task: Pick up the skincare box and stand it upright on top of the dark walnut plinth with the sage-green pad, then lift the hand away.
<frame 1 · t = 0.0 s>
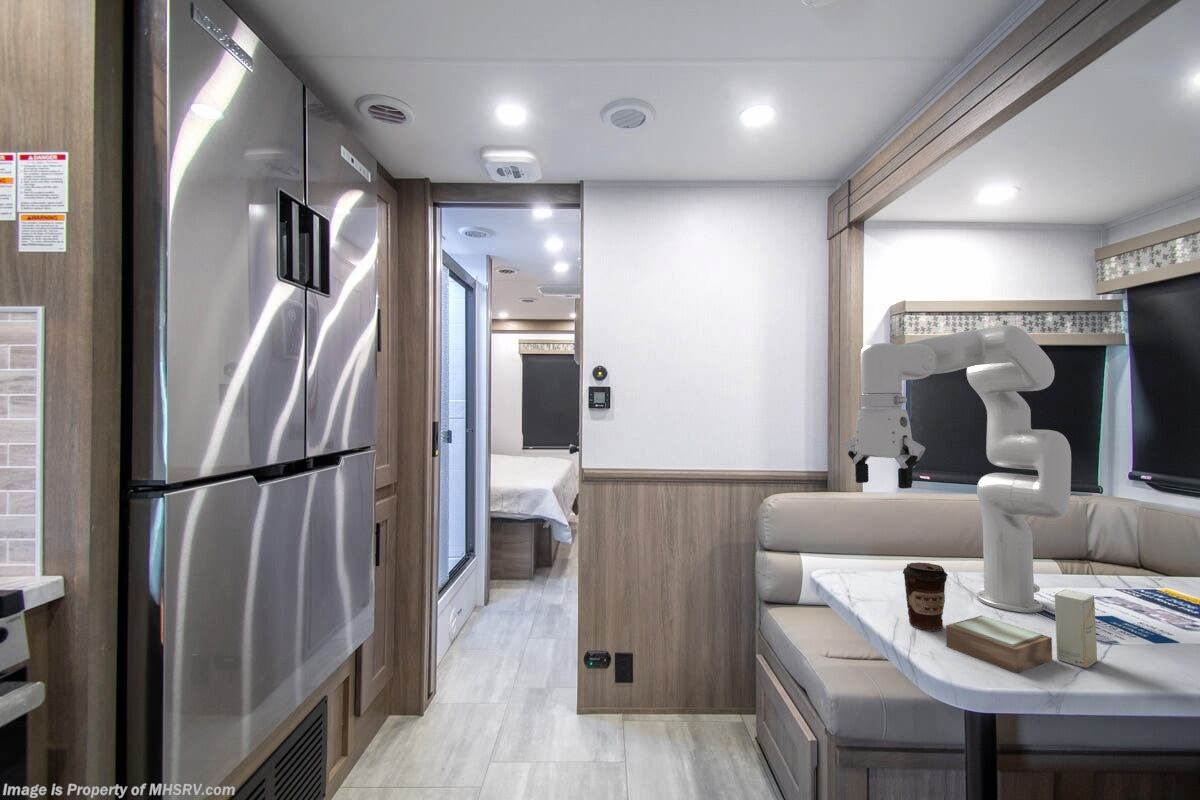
hand: (882, 485, 108), 31 cm above the table, tool pointing down, fingers open, 9 cm apart
coffee cup: (926, 627, 113), on the table
skincare box: (1076, 661, 97), on the table
walnut plinth: (997, 652, 100), on the table
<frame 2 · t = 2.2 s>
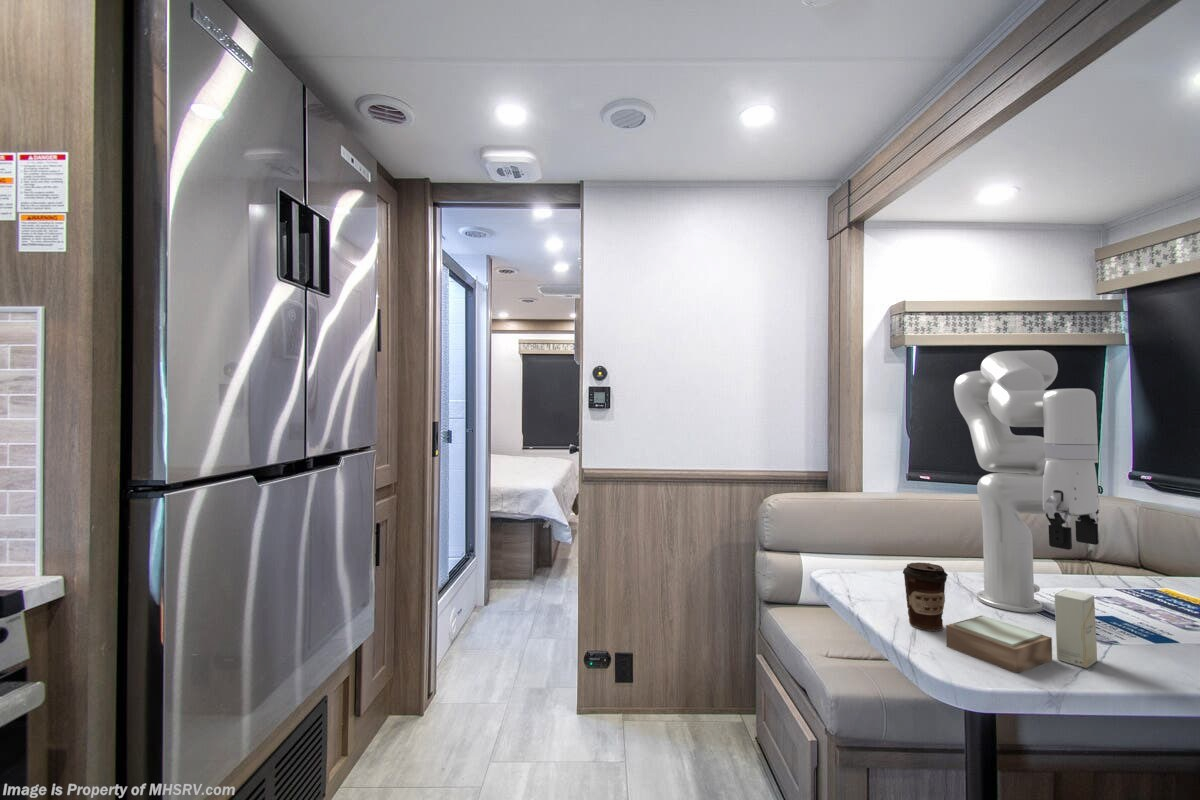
hand: (1074, 545, 97), 21 cm above the table, tool pointing down, fingers open, 9 cm apart
nothing on the table moved.
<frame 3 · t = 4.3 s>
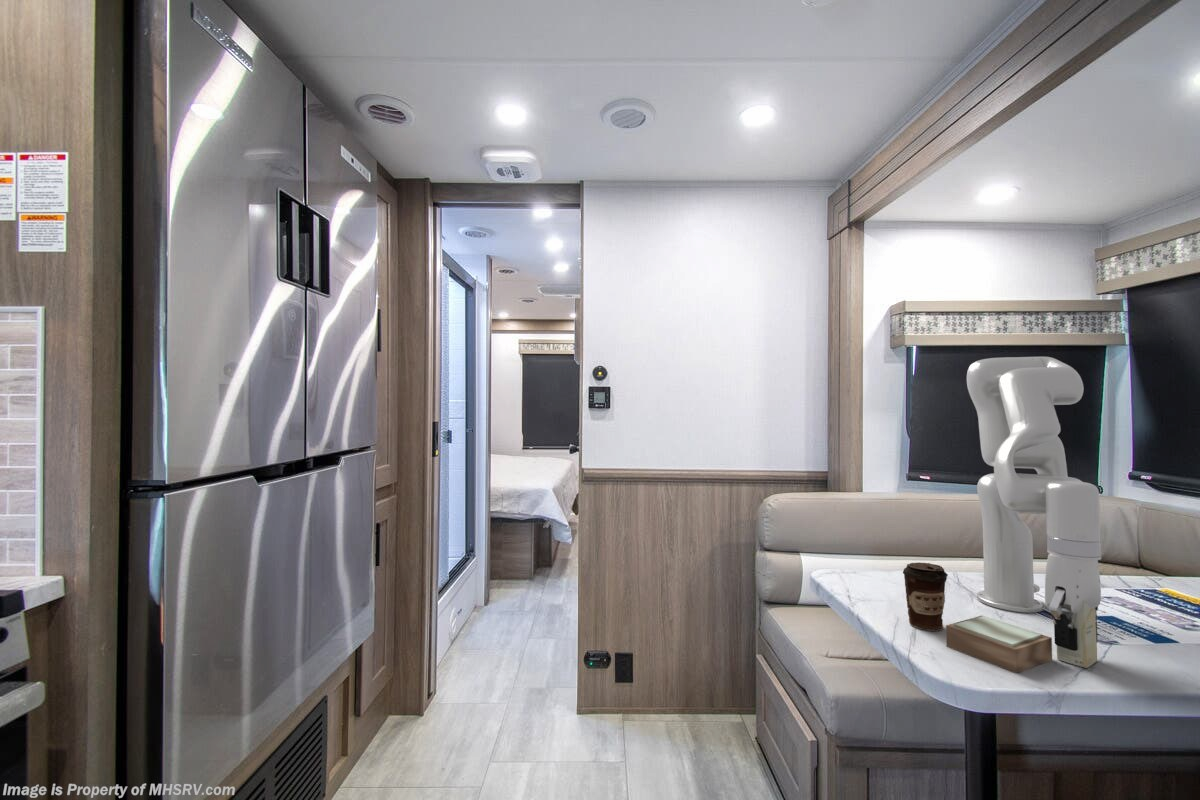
hand: (1076, 643, 97), 3 cm above the table, tool pointing down, fingers closed on skincare box, 6 cm apart
skincare box: (1076, 661, 97), on the table, touching gripper
everything else where it was.
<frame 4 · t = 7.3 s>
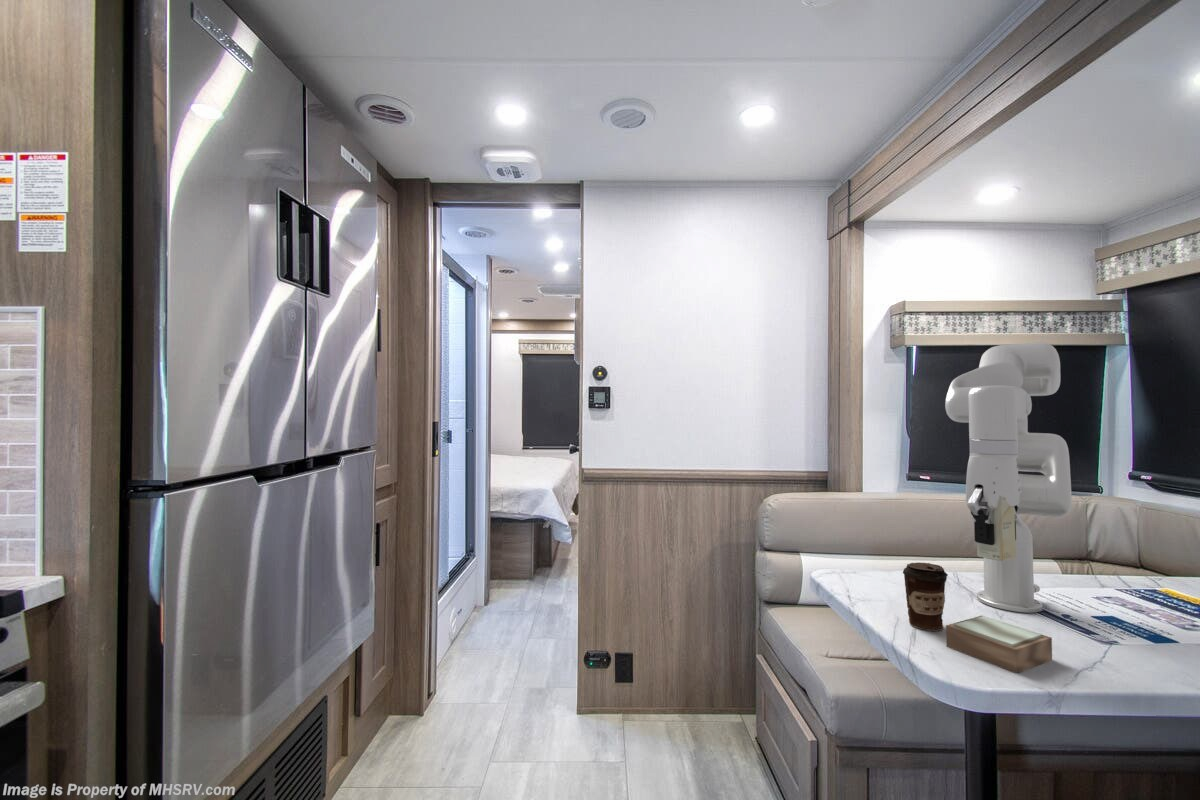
hand: (995, 540, 101), 21 cm above the table, tool pointing down, fingers closed on skincare box, 6 cm apart
skincare box: (996, 558, 100), point 18 cm above the table, touching gripper
everything else where it was.
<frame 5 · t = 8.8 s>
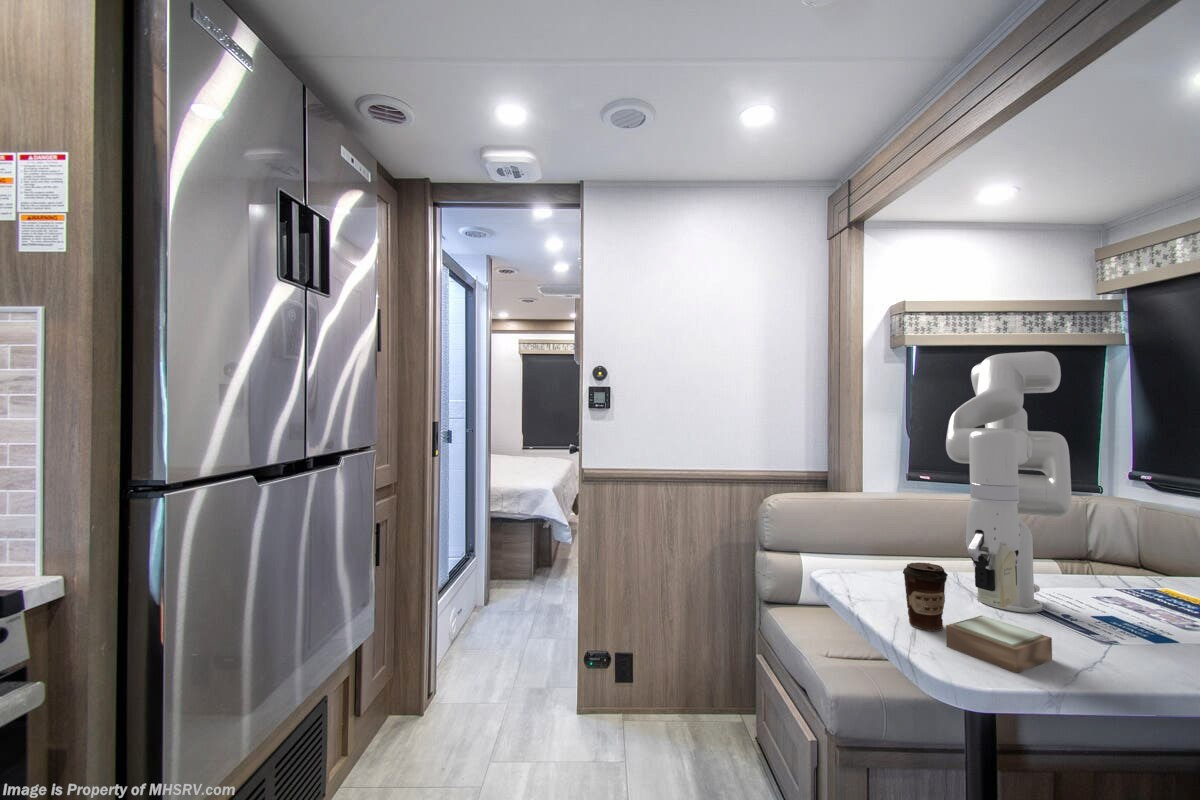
hand: (996, 585, 100), 13 cm above the table, tool pointing down, fingers closed on skincare box, 6 cm apart
skincare box: (996, 603, 100), point 9 cm above the table, touching gripper
everything else where it was.
when the fingers open (8 cm above the table, at t = 10.2 s): skincare box stays where it is, resting on walnut plinth.
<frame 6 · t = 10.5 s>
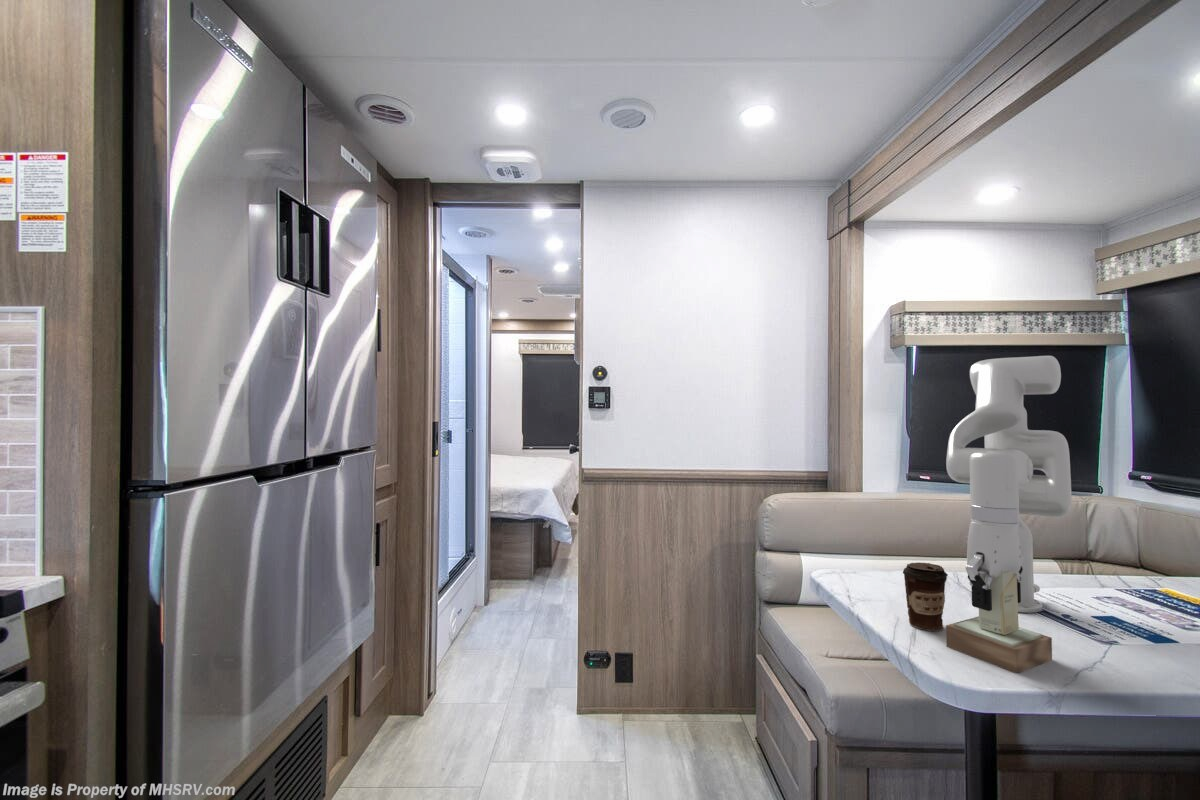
hand: (996, 604, 100), 9 cm above the table, tool pointing down, fingers open, 9 cm apart
skincare box: (998, 629, 100), point 4 cm above the table, touching walnut plinth
everything else where it was.
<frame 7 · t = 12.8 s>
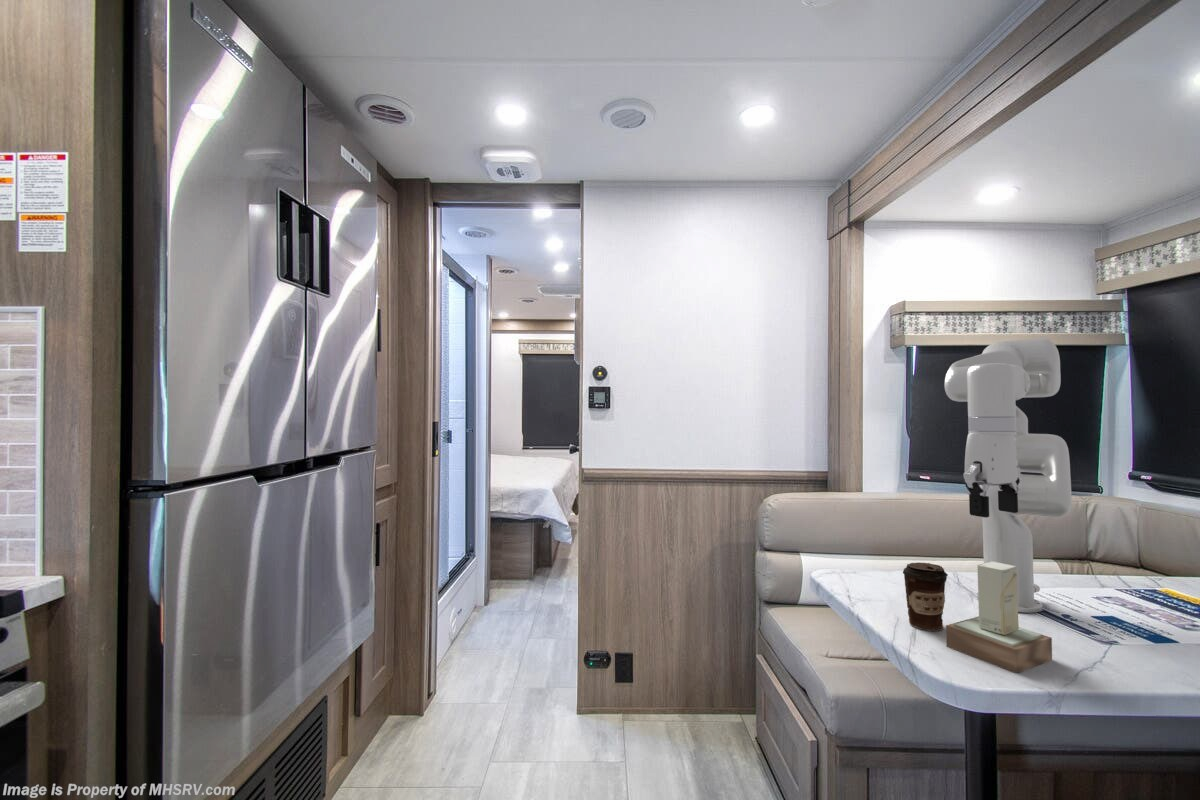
hand: (994, 513, 101), 26 cm above the table, tool pointing down, fingers open, 9 cm apart
nothing on the table moved.
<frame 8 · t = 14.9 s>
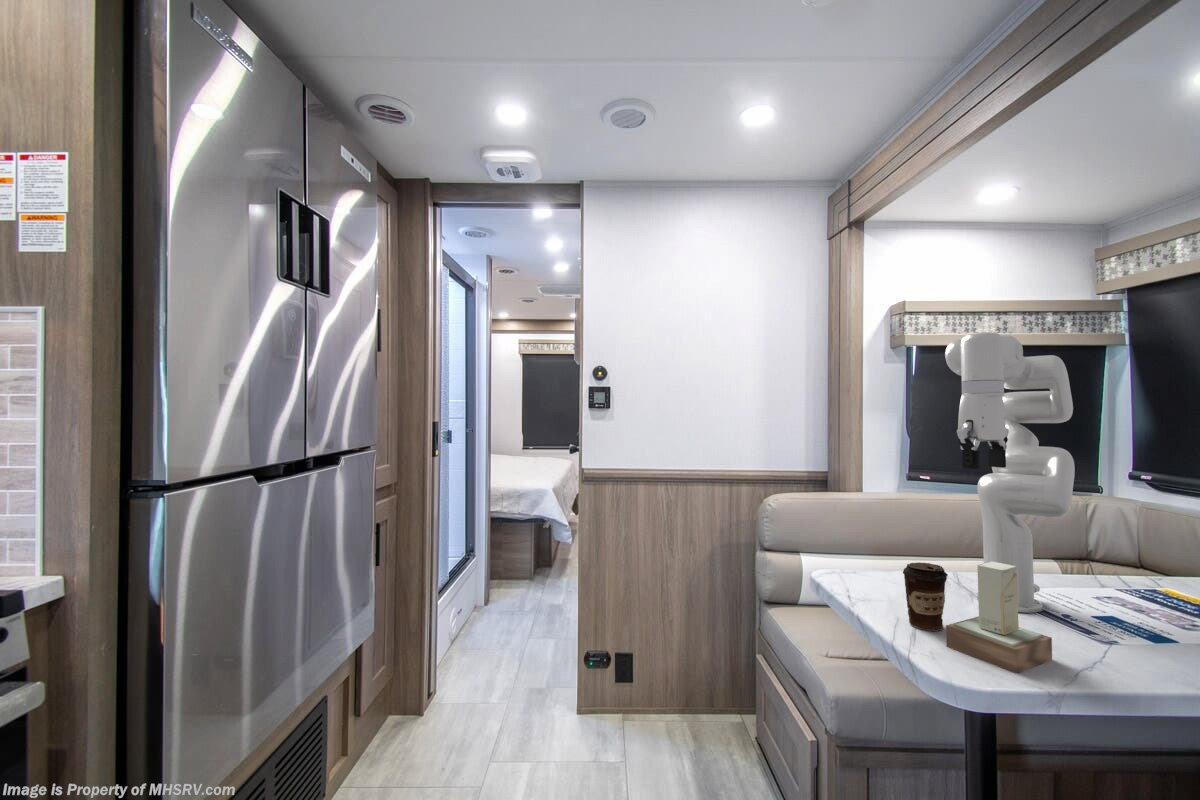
hand: (984, 467, 113), 34 cm above the table, tool pointing down, fingers open, 9 cm apart
nothing on the table moved.
at the end: skincare box inside the target area on the walnut plinth (0.4 cm from its centre), point 4.3 cm above the walnut plinth's base; skincare box tilted 0°; the gripper is holding nothing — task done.
